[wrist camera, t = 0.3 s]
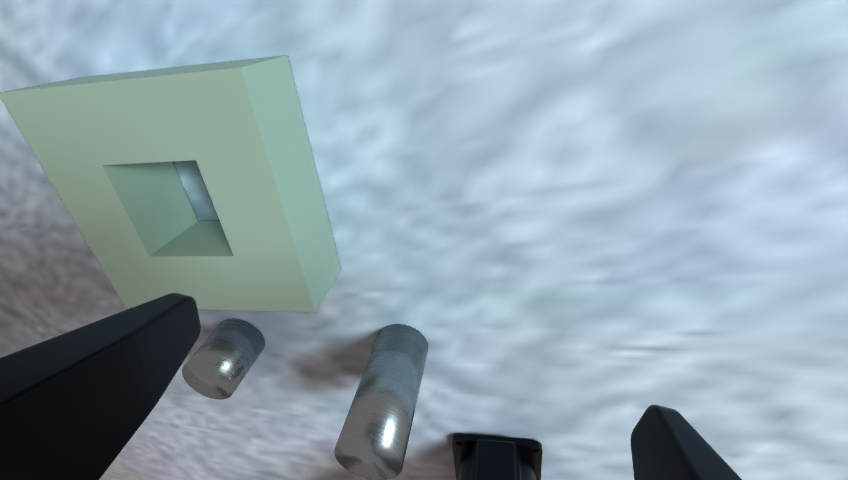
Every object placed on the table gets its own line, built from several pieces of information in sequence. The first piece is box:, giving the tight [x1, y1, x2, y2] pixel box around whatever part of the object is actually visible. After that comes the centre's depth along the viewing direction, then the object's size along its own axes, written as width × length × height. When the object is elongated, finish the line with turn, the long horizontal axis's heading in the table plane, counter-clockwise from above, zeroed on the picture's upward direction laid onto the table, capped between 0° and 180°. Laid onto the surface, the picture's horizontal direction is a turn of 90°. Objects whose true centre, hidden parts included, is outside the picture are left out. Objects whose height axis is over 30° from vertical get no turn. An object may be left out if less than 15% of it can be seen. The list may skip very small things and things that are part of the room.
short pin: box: [182, 319, 265, 399], centre depth 28 cm, size 4×4×4 cm
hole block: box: [0, 55, 341, 313], centre depth 21 cm, size 12×12×4 cm
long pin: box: [335, 324, 428, 480], centre depth 24 cm, size 4×4×8 cm
